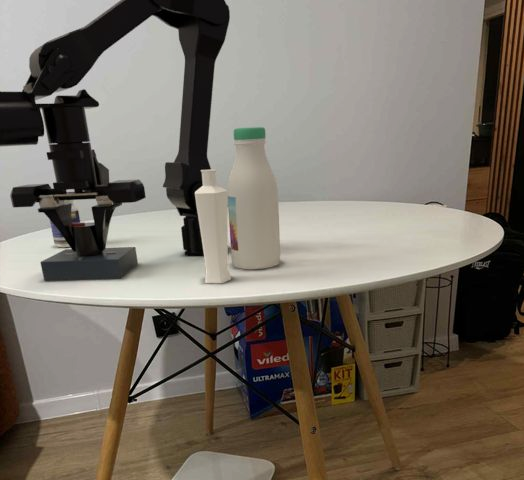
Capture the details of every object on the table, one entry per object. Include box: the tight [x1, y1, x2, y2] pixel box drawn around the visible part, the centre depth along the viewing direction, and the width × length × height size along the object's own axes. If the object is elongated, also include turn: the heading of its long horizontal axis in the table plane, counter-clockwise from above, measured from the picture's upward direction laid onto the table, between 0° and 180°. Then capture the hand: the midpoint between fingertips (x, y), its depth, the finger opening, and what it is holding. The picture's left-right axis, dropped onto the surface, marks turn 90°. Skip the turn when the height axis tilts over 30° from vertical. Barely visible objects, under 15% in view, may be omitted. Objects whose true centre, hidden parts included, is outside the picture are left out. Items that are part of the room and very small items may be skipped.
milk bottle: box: [227, 126, 281, 270], centre depth 76 cm, size 8×8×20 cm
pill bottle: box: [49, 200, 81, 248], centre depth 101 cm, size 6×6×10 cm
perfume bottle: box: [195, 168, 232, 284], centre depth 69 cm, size 5×4×15 cm
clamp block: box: [40, 246, 139, 282], centre depth 79 cm, size 12×9×3 cm
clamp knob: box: [71, 221, 103, 256], centre depth 78 cm, size 4×4×5 cm
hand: (89, 250), depth 79 cm, fingers closed on clamp knob, 4 cm apart
